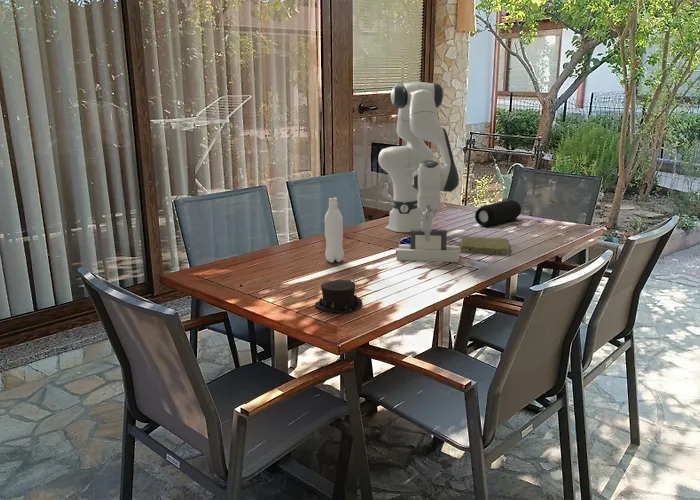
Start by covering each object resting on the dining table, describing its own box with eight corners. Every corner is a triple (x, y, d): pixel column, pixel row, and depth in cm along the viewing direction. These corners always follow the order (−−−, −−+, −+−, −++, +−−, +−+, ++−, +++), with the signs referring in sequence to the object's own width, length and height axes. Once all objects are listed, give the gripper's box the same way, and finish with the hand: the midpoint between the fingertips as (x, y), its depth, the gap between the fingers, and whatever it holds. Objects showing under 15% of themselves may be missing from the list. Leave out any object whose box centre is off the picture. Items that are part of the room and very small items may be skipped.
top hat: (338, 318, 187) (337, 285, 184) (305, 306, 197) (303, 275, 195) (372, 305, 197) (371, 273, 195) (339, 294, 208) (338, 264, 205)
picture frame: (410, 253, 250) (411, 229, 247) (446, 254, 247) (446, 230, 245) (410, 255, 247) (410, 231, 244) (445, 256, 244) (446, 232, 242)
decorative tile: (460, 243, 270) (460, 235, 269) (508, 244, 266) (508, 236, 265) (458, 254, 253) (459, 246, 252) (509, 256, 249) (510, 248, 248)
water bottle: (335, 257, 250) (333, 195, 244) (347, 260, 245) (346, 198, 239) (321, 261, 246) (319, 198, 239) (334, 264, 241) (332, 200, 234)
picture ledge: (399, 253, 254) (399, 244, 253) (459, 255, 249) (459, 246, 248) (396, 259, 245) (396, 250, 244) (458, 262, 241) (458, 252, 240)
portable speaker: (505, 217, 316) (506, 198, 313) (522, 220, 308) (523, 200, 306) (473, 225, 300) (473, 205, 297) (489, 229, 292) (490, 208, 290)
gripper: (435, 209, 231) (434, 245, 235) (438, 198, 250) (437, 232, 254) (418, 208, 232) (418, 244, 236) (422, 198, 252) (422, 231, 255)
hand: (428, 237), depth 245 cm, fingers open, 8 cm apart
